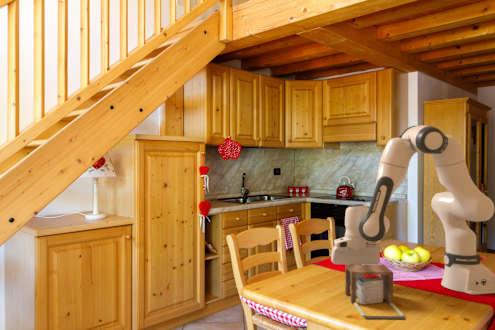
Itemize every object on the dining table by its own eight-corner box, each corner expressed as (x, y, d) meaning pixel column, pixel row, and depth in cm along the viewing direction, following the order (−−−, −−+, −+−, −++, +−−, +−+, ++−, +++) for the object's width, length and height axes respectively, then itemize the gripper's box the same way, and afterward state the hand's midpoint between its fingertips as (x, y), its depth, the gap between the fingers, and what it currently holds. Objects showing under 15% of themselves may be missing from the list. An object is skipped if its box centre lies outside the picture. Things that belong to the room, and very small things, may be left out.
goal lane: (392, 304, 138) (392, 303, 138) (404, 317, 127) (404, 315, 127) (353, 304, 138) (353, 302, 138) (362, 316, 127) (362, 315, 127)
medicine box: (376, 298, 144) (376, 275, 144) (383, 302, 139) (383, 279, 139) (357, 300, 142) (357, 277, 141) (364, 305, 137) (364, 281, 137)
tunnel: (383, 294, 149) (383, 264, 148) (393, 303, 139) (393, 272, 138) (345, 293, 149) (345, 264, 149) (351, 303, 139) (351, 272, 139)
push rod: (365, 282, 162) (365, 266, 161) (379, 297, 144) (379, 279, 143) (346, 282, 162) (346, 266, 162) (357, 297, 144) (357, 279, 144)
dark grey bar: (403, 317, 126) (403, 316, 126) (405, 319, 125) (405, 318, 125) (364, 317, 127) (364, 315, 127) (365, 319, 125) (365, 317, 125)
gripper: (377, 240, 165) (377, 272, 165) (330, 240, 166) (330, 271, 166) (382, 243, 159) (382, 276, 159) (333, 243, 160) (333, 276, 160)
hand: (355, 274), depth 163 cm, fingers closed
